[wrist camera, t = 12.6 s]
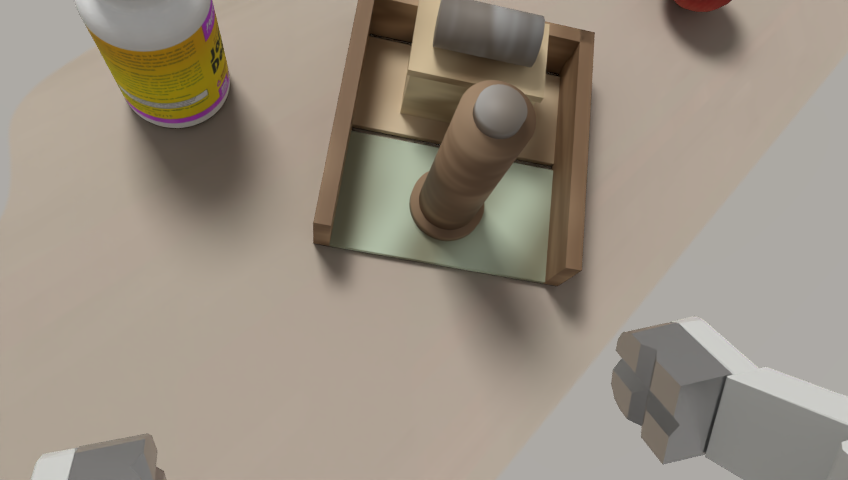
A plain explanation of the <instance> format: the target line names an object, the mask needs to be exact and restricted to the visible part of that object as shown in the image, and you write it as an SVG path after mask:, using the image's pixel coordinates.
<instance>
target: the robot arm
mask: <svg viewBox="0 0 848 480" xmlns="http://www.w3.org/2000/svg"><path fill="white" fill-rule="evenodd" d="M616 351H617V352H618V354H619V355H620V356H621V358H622V359H621V360H620V361H619V362H618V364H617V365H616V366H615V367H614V369H613V373H612V382H611V385H612V389H613V394H614V399H615V401H616V402H617V405H618V407H619V409H620V410H621V412H622V413H623V414H624V416H625V417H626V418H627V419H628V420H630V421H632V422H634V423H636V424H639V425H641V426H642V429H641V438H642V439H643V440H644V441H645V442H646V444H647V445H648V446H649V448H650V449H651V450H652V451H653V452H654V454H655V455H656V457H657V458H658V459H659V460H660V462H661V463H662V464H667V463H671V462H675V461H680V460H684V459H688V458H692V457H696V456H701V455H704V454H706V455H705V457H706V458H708V459H710V460H711V461H713V462H715V463H716V464H718V465H720V466H721V467H723V468H725V469H726V470H728V471H730V472H731V473H733V474H735V475H736V476H738V477H740V478H742V479H743V480H848V397H847V396H845V395H842V394H839V393H836V392H833V391H831V390H828V389H825V388H823V387H820V386H817V385H814V384H812V383H809V382H806V381H803V380H801V379H798V378H795V377H793V376H789V375H787V374H784V373H781V372H779V371H776V370H773V369H770V368H768V367H764V368H761V369H759V368H758V367H757V366H756V365H755V364H753V363H752V362H751V361H750V360H749V359H748V358H747V357H745V356H744V355H743V354H742V353H741V352H740V351H739V350H737V349H736V348H735V347H734V346H733V345H732V344H731V343H729V342H728V341H727V340H726V339H725V338H724V337H723V336H721V335H720V334H719V333H718V332H717V331H716V330H714V329H713V328H712V327H711V326H710V325H709V324H708V323H707V322H705V321H704V320H703V319H701V318H698V317H695V316H693V317H689V318H685V319H680V320H676V321H671V322H670V323H665V324H659V325H655V326H650V327H646V328H642V329H637V330H632V331H628V332H623V333H622V334H621V336H620V337H619V339H618V342H617V347H616ZM156 462H157V448H156V445H155V443H154V440H153V437H152V435H150V434H143V435H137V436H132V437H127V438H122V439H116V440H111V441H106V442H100V443H95V444H90V445H85V446H80V447H79V448H73V449H67V450H62V451H57V452H51V453H46V454H43V455H42V456H41V457H40V458H39V460H38V461H37V462H36V464H35V467H34V471H33V474H32V477H31V480H166V476H165V473H164V471H163V470H161V469H159V468H158V467H156Z"/></svg>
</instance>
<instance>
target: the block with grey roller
mask: <svg viewBox="0 0 848 480" xmlns="http://www.w3.org/2000/svg"><path fill="white" fill-rule="evenodd" d="M549 26H550V24H546V23H545V19H544V16H541V15H536V14H532V13H527V12H523V11H518V10H514V9H509V8H505V7H500V6H496V5H491V4H487V3H483V2H478V1H474V0H419V3H418V9H417V16H416V22H415V28H414V34H413V40H412V46H411V50H410V56H409V62H408V68H407V74H406V80H405V86H404V92H403V98H402V104H401V110H400V113H401V114H406V115H411V116H416V117H421V118H426V119H431V120H436V121H441V122H446V123H450V122H451V120H452V118H453V116H454V113H455V111H456V109H457V106H458V104H459V102H460V100H461V98H462V96H463V94H464V93H465V92H466V91H467V90H468V89H469V88H470V87H471V86H473V85H475V84H476V83H479V82H482V81H487V80H498V81H503V82H507V83H509V84H511V85H513V86H515V87H517V88H518V89H520V90H521V91H522V92H523V93H524V94H525V95H526V96H527V97H528V99H529V100H530V101H531V103H532V105H533V106H534V104H535V102H538V103H541V101H542V100H543V98H544V87H545V75H546V63H547V50H548V38H549Z"/></svg>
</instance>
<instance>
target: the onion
mask: <svg viewBox="0 0 848 480" xmlns="http://www.w3.org/2000/svg"><path fill="white" fill-rule="evenodd" d="M674 1H675V3H677V5H679V6H681V7H682V8H685V9H688V10H691V11H696V12H708V11H712V10H715V9H718V8H720V7H722V6H724V5H726V4H728V3H729V2H730V1H731V0H674Z"/></svg>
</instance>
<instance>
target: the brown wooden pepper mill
mask: <svg viewBox="0 0 848 480" xmlns="http://www.w3.org/2000/svg"><path fill="white" fill-rule="evenodd" d="M535 128H536V114H535V110H534V107H533V105H532V103H531V101H530V100H529V99H528V97H527V96H526V95H525V94H524V93H523V92H522V91H521V90H520V89H518V88H517V87H515V86H513V85H511V84H509V83H507V82H503V81H498V80H487V81H482V82H479V83H476V84H475V85H473V86H471V87H470V88H469V89H468V90H467V91H466V92H465V93H464V94H463V96H462V98H461V100H460V102H459V104H458V106H457V109H456V111H455V113H454V116H453V118H452V120H451V122H450V125H449V127H448V129H447V132H446V134H445V136H444V138H443V141H442V143H441V145H440V148H439V150H438V152H437V154H436V157H435V159H434V161H433V164H432V166H431V168H430V170H429V171H428V172H426V173H425V174H423V175H422V176H421V177H420V178H419V179H418V181H417V182H416V184H415V185H414V188H413V190H412V193H411V196H410V202H409V207H410V213H411V216H412V218H413V220H414V222H415V224H416V225H417V226H418V228H419V229H420V230H421V231H422V232H423V233H425V234H426V235H428V236H430V237H432V238H434V239H437V240H441V241H455V240H459V239H461V238H464V237H465V236H467V235H469V234H470V233H471V232H472V231H473V230H474V229H475V228H476V226H477V225H478V224H479V222H480V220H481V218H482V216H483V213H484V202H485V201H486V199H487V198H488V197H489V195H490V194H491V193H492V191H493V190H494V188H495V187H496V186H497V184H498V183H499V182H500V180H501V179H502V178H503V176H504V175H505V173H506V172H507V171H508V169H509V168H510V167H511V165H512V164H513V163H514V161H515V160H516V158H517V157H518V156H519V154H520V153H521V152H522V150H523V149H524V147H525V146H526V145H527V143H528V142H529V141H530V139H531V138H532V136H533V134H534V131H535Z"/></svg>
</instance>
